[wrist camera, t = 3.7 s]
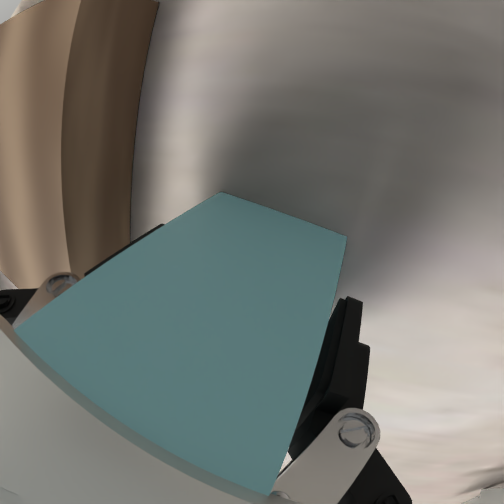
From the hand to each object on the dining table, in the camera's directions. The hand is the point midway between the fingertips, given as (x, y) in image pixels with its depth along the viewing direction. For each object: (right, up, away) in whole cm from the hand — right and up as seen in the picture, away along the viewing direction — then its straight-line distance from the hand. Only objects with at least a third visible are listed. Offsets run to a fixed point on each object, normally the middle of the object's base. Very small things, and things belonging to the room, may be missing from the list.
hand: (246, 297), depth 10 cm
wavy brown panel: (-13, +8, +4) cm, 15 cm away
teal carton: (+1, +1, +2) cm, 2 cm away
